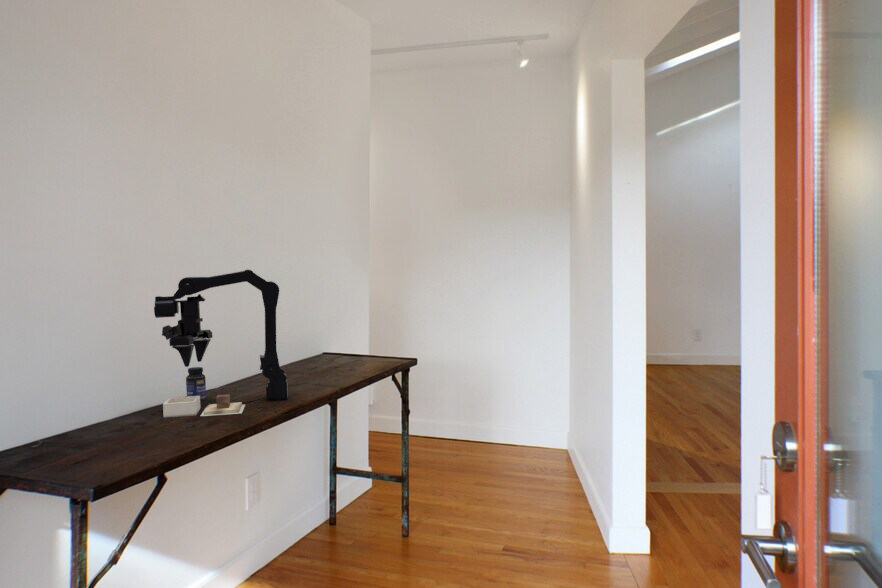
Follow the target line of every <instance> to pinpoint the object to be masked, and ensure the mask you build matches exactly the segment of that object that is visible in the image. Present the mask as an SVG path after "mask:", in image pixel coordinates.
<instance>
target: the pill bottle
mask: <svg viewBox="0 0 882 588" xmlns="http://www.w3.org/2000/svg"><path fill="white" fill-rule="evenodd" d="M203 372H204V368H203V367H201V366H198V367H197V366H196V367H195V366H194V367H187V373H188V375H187V376H186V377H185V385H186V396H200V402H201V401H205V400H206V399H207V388H206V387H207V386H206V384H207V383H206V375H205V374H203Z"/></svg>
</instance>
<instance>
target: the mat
mask: <svg viewBox="0 0 882 588" xmlns="http://www.w3.org/2000/svg"><path fill="white" fill-rule="evenodd" d="M207 407H208V406H206V407H204V409H203V411H202V413H201V414H200V417H209V416H225V415H236V414H237V415H238V414H242V413H243V411H244V410H245V407H246V404H243V403H242V406H241V409H240V411H239V413H227V414H213V415H204V411H205V409H206V408H207Z"/></svg>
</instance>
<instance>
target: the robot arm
mask: <svg viewBox="0 0 882 588" xmlns="http://www.w3.org/2000/svg"><path fill="white" fill-rule="evenodd" d="M245 282H247V283H248V284H250V285H251V286H253V287H254V288H256V289H257V290H259V291H260V292H261V296H262V297H261V298H262V301H263V306H264V307H263V308H264V346H265V347H264V355H263V354H260V355H259V360H260V365H259V370H260V371H261V372H262V375H263V376H264V377H265V378H267V379H268V381H267V385H266V386H265V391H266V392H265V395H266V398H265V399H266V400H267V402H274V401H277V402H278V401H287V400H289V394H288V393H289V391H288V389H289V388H288V379H287V378H288V376H287V374H286V373H287V372H286V371H284V369H282V368H281V366H280V361H279V357H278V352H277V306H278V301H279V296H280V286H279V285H278V284H277V283H276V282H274V281H272V280H271V281H270V280H269V281H268V280H265V279H264V278H263V277H261V276H259V275H258V274H257V273H255V272H254V271H253V270H251V269H244V270H241V271H235V272H230V273H224V274H218V275H214V276H212V275H211V276H187V277H182V279H180V280H179V282H178V284H177V286H178V287H177V290H176V292H175V293H174V294H173V296H172V295H171V296H161V295H157V296H155V297H154V307H153V310H154V311H153V313H154V316H155V318H156V319H158V318H159V319H160V318H175V317H176V314H177V315H178V314H179V310H180V319H178V321H177V325H174V326H171V325H169V324H168V325H165V326H162V331H161V332H162V333H161V335H162V337H164V338H165V339H166V341H168V340H169V346H170V347H172V348H173V349H175V350H176V351H177V352H178V353H179V356H180V358H181V360H182V362H183V363H182V364H183V365H184V367H187V368H189V367H190V363H191V359H192V355H193V352H194V351H195V355H196V360H197V362H198V363H199V362H202V360H203V358H204V355H205V354H206V351H207V348H208V346H209V344H210V342H211V339H212V338H213V332H212V331H211V329H202V328H201V327H202V325H201V322H203V321H204V320H203V317H201V312H200V302H205V301H206V298H205V297H204V296H202V294H200V292H204V291H205V290H208V289H211V288H212V289H213V288H216V287H223V286H224V287H225V286H227V285H229V286H230V285H234V284H239V283H245ZM197 293H199V294H197ZM194 294H197V296H196V295H195V296H192V295H194ZM185 296H187V297H186V299H183V300H180V299H182V298H184V297H185ZM179 305H180V306H179Z"/></svg>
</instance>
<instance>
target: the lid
mask: <svg viewBox="0 0 882 588" xmlns="http://www.w3.org/2000/svg"><path fill="white" fill-rule="evenodd" d="M230 397H231V395H230V394H227V393H226V394H217V395H216V398H215V400H216V401H215V403H212V404H211V403H209V404H208V405H207V406H206V407H207V408H206V407H205V408H206V409H205V408H204V410H205V411H204V410H203V411H204V415H212V416H214V415H213V414H226V415H228V414H227V413H239V411H240V409H241V406H242V405H243V402H241V401H239V402H231V398H230Z"/></svg>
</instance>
